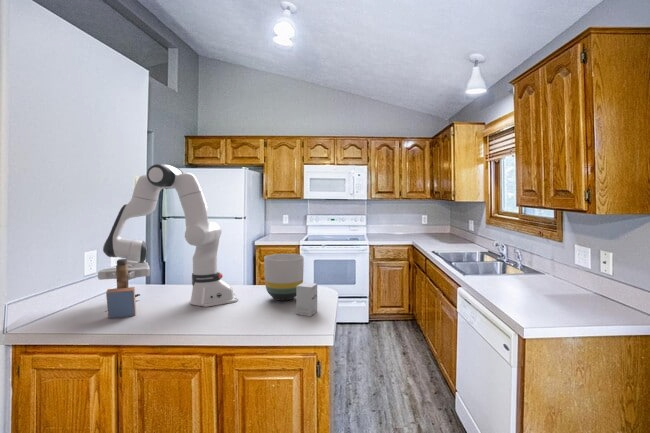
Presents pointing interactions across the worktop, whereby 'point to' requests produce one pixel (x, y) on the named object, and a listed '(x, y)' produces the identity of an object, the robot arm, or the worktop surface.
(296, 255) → the planter
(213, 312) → the worktop surface
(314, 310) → the supplement box
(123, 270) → the brown pepper mill
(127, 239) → the robot arm
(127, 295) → the tile
